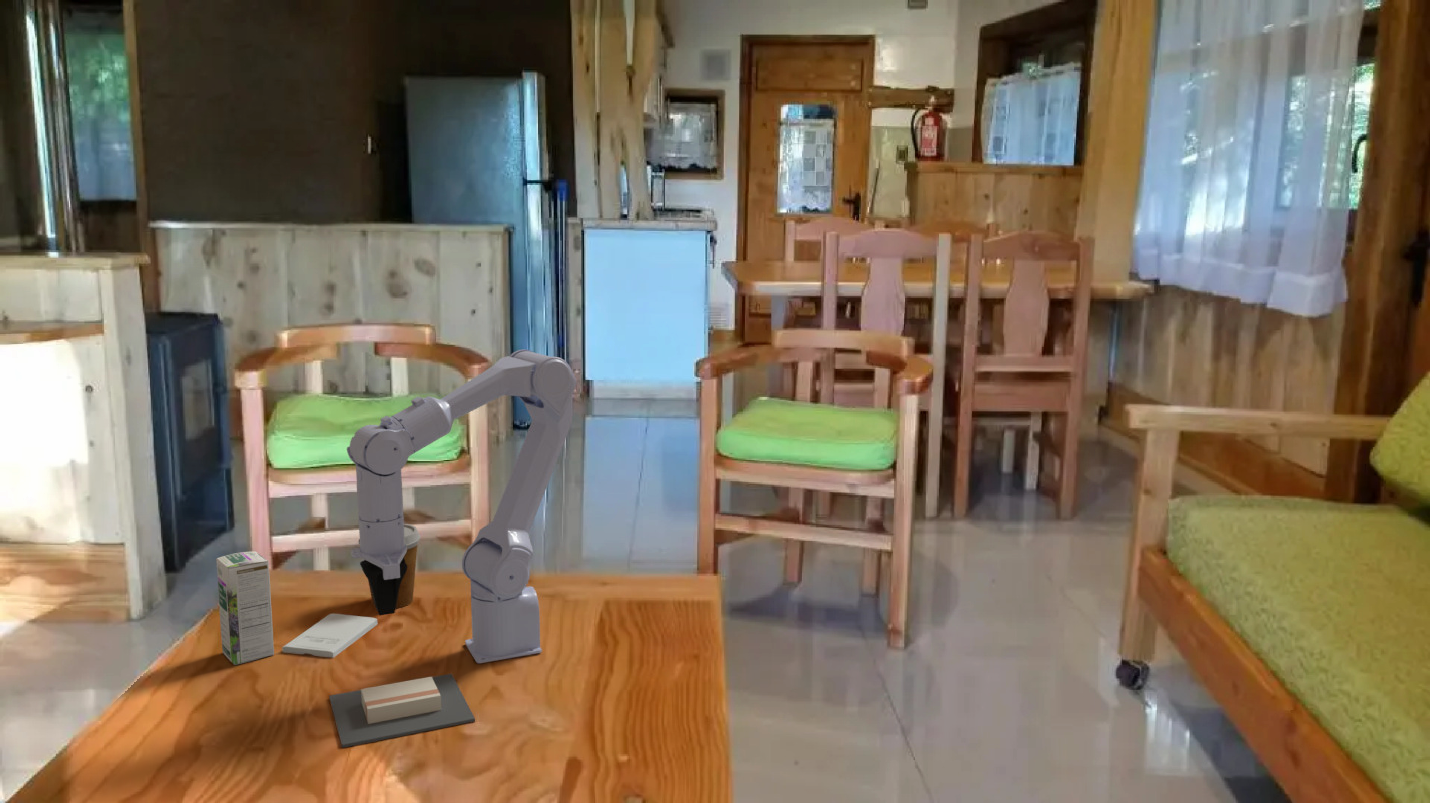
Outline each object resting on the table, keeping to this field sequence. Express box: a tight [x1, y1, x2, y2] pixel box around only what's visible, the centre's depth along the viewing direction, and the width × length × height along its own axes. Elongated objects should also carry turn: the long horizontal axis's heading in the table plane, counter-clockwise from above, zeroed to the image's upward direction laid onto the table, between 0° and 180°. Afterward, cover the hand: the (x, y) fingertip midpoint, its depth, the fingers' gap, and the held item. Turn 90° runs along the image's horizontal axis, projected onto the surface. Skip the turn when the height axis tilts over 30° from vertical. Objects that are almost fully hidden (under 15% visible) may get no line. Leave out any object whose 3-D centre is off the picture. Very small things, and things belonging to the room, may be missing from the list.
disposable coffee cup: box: [358, 523, 421, 609], centre depth 173 cm, size 10×10×12 cm
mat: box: [329, 673, 476, 749], centre depth 139 cm, size 16×14×1 cm
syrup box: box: [215, 550, 275, 666], centre depth 153 cm, size 6×6×14 cm
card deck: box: [360, 676, 441, 724], centre depth 139 cm, size 9×2×6 cm
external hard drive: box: [281, 613, 378, 659], centre depth 161 cm, size 2×8×12 cm
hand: (386, 612), depth 145 cm, fingers closed
